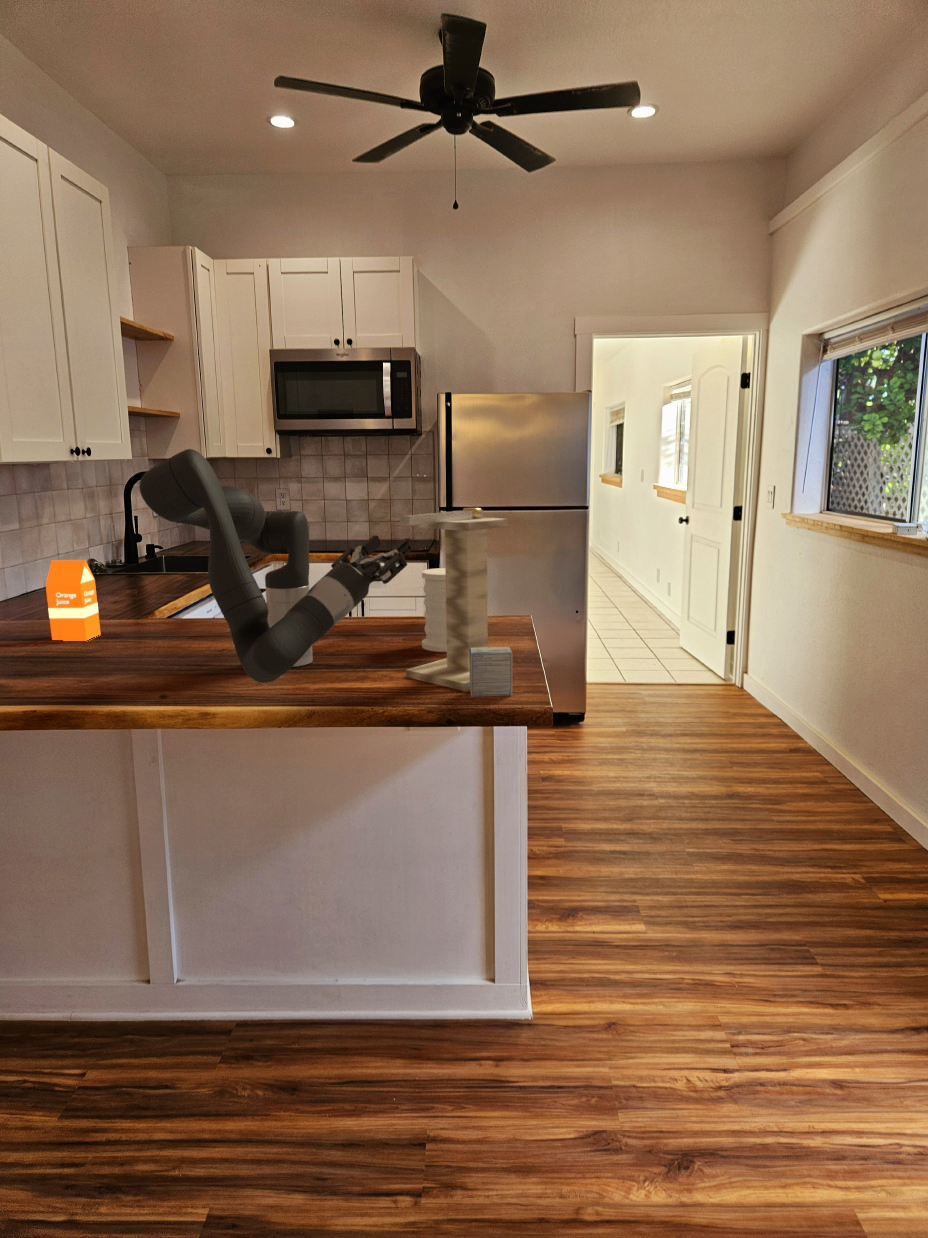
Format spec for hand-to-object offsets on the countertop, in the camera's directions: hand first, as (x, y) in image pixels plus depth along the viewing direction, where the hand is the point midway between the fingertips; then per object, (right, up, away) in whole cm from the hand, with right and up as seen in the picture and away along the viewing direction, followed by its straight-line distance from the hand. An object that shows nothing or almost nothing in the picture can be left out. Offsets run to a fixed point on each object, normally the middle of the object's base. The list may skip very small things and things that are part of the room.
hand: (393, 540), depth 146 cm
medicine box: (+18, -29, +6) cm, 34 cm away
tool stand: (+12, -26, +18) cm, 34 cm away
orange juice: (-86, -19, +57) cm, 105 cm away
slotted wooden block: (+9, +5, +10) cm, 14 cm away
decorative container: (+9, -21, +44) cm, 50 cm away
